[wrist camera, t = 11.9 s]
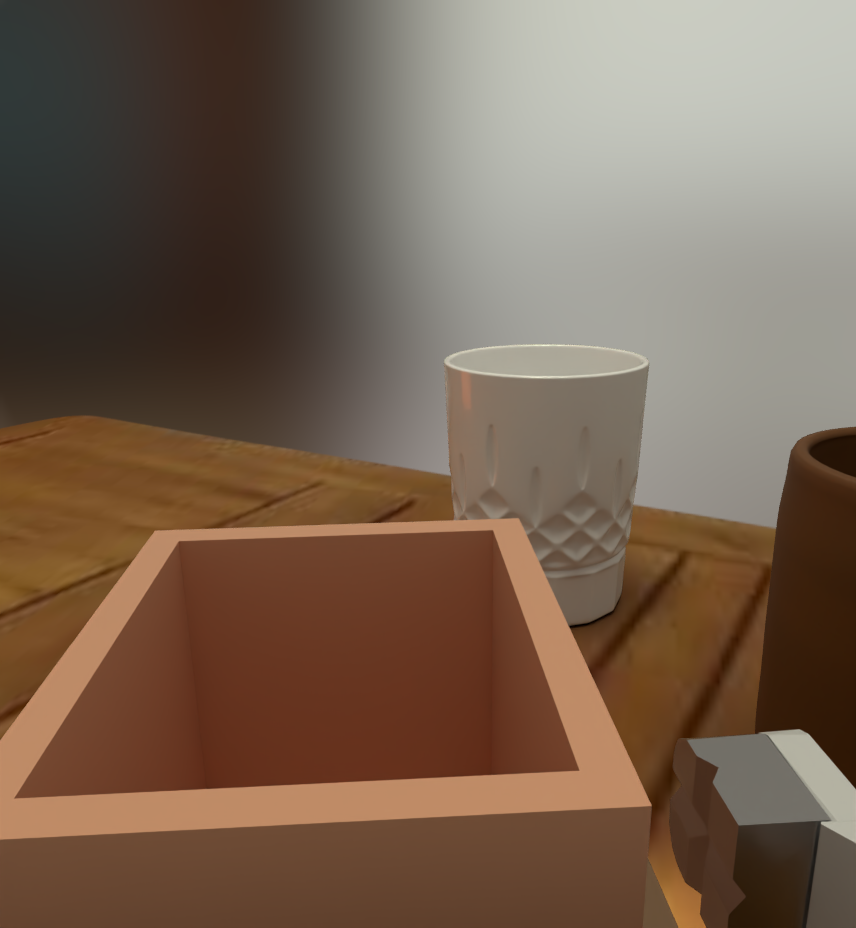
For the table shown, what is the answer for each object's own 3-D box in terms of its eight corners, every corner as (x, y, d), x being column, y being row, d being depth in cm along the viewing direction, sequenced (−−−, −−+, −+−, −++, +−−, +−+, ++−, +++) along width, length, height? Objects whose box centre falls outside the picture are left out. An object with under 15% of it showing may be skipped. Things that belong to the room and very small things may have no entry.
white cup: (533, 543, 40) (538, 338, 37) (673, 595, 34) (691, 357, 31) (408, 590, 35) (402, 358, 32) (547, 660, 29) (554, 385, 26)
